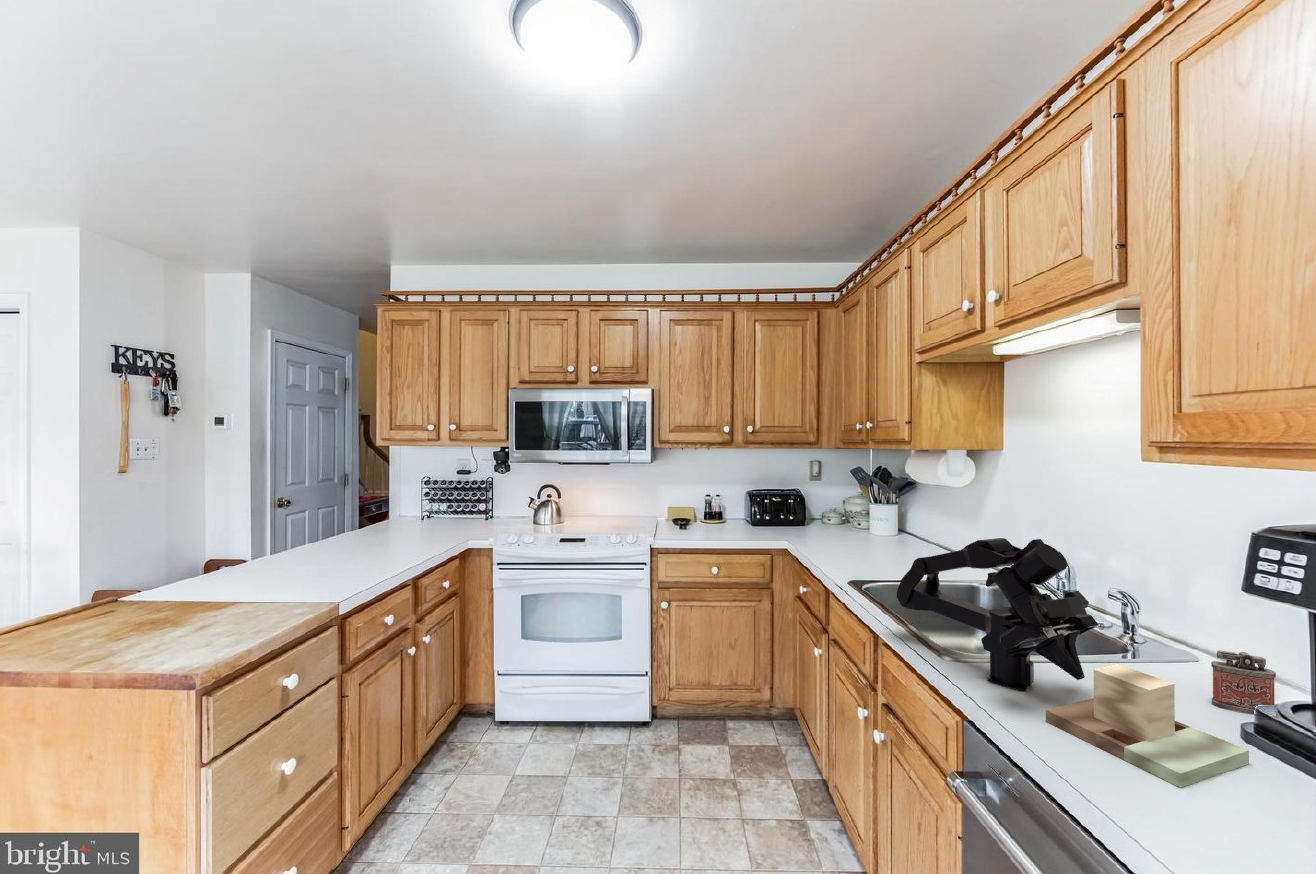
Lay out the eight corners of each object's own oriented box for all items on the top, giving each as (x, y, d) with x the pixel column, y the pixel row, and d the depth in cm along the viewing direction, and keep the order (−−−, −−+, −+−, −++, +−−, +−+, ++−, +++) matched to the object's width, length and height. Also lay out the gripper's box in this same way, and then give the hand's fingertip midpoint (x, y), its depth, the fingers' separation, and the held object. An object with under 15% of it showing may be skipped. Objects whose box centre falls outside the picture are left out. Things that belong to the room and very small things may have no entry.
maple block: (1093, 717, 93) (1093, 669, 93) (1118, 710, 95) (1117, 663, 95) (1149, 742, 85) (1149, 690, 85) (1174, 734, 87) (1174, 683, 87)
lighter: (1271, 710, 98) (1270, 654, 98) (1279, 719, 95) (1279, 661, 95) (1208, 700, 102) (1208, 645, 102) (1215, 708, 99) (1214, 652, 99)
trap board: (1045, 721, 96) (1045, 710, 95) (1109, 705, 101) (1109, 694, 101) (1180, 787, 78) (1180, 773, 78) (1249, 763, 83) (1248, 750, 83)
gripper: (1016, 581, 99) (1079, 669, 89) (1089, 571, 105) (1155, 652, 95) (976, 609, 107) (1030, 694, 97) (1046, 598, 113) (1103, 677, 103)
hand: (1081, 678), depth 98 cm, fingers closed
